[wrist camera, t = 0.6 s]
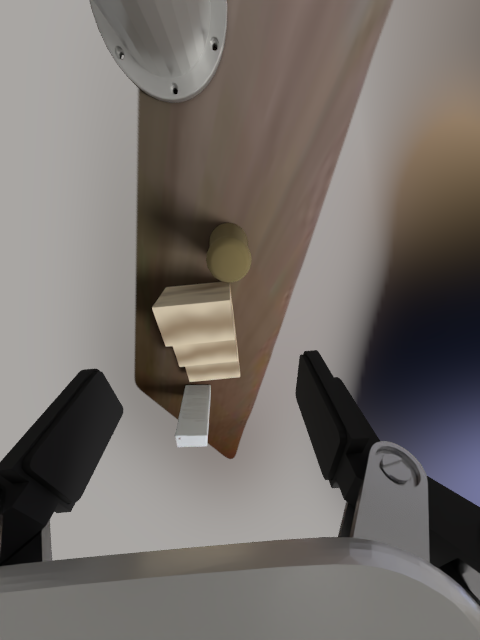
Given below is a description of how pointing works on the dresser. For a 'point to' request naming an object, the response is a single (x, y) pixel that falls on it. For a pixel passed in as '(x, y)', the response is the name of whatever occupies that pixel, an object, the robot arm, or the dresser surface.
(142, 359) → the dresser surface
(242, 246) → the cork
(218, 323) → the step stand
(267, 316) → the dresser surface
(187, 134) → the dresser surface
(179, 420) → the skincare box
